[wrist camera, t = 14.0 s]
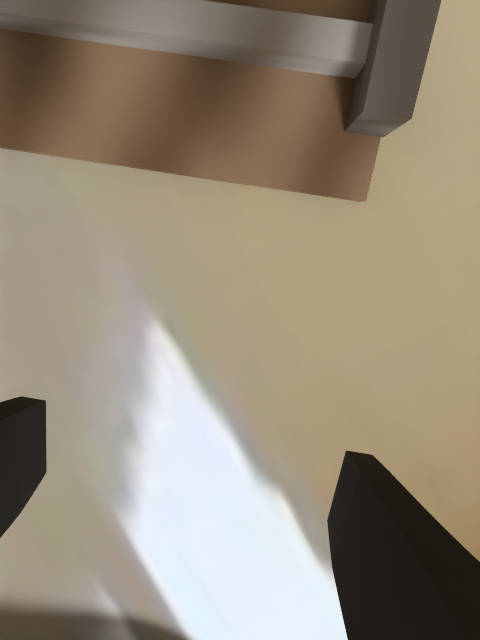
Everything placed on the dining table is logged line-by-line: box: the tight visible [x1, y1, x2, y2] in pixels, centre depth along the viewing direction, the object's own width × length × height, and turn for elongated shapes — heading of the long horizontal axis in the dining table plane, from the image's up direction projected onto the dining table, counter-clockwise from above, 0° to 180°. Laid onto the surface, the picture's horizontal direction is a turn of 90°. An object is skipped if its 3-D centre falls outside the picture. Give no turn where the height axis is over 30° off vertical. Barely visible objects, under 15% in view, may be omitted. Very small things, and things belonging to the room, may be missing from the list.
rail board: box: [0, 0, 441, 201], centre depth 14 cm, size 30×10×4 cm, turn 82°
